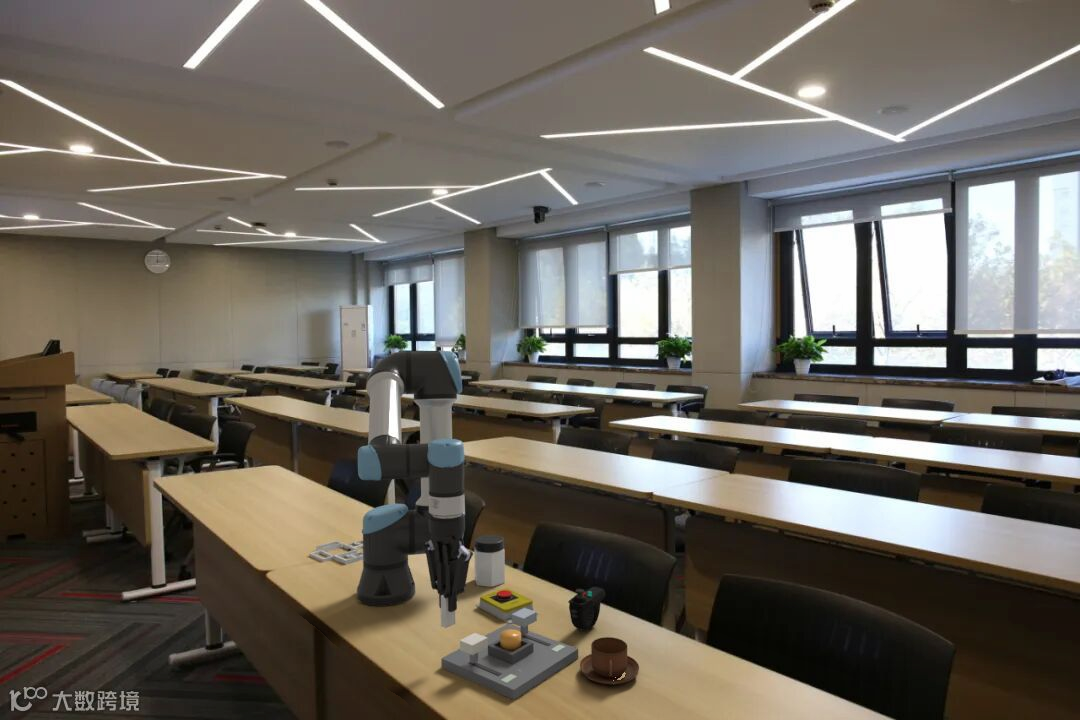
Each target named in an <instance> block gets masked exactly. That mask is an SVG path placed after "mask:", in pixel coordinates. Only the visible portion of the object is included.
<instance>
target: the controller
mask: <svg viewBox="0 0 1080 720" xmlns="http://www.w3.org/2000/svg"><path fill="white" fill-rule="evenodd" d="M575 593H576V594H575V595H574V596H573V597H572V598H570V599H569V600H568V601H567V603H568V604H569V605H568V609H569V615H570V621H571V623H572V626H573V627H574V628H576V629H577V630H580V631H585V632H587V631H590V630H591V629H593V628H594V626H595V625H596V623H597V622H598V619H599V615H600V611H601V603H602V600H603V599H604V598H605V597H606V596H607V593H606V591H605V589H604V588H603V587H599V586H591V587H590V588H588V589H586V590H585V589H583V588H576V589H575Z"/></svg>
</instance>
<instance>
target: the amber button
mask: <svg viewBox="0 0 1080 720" xmlns="http://www.w3.org/2000/svg"><path fill="white" fill-rule="evenodd" d="M500 646H501V648H503V649H506V650H515V649H518V648H520V647H521V632H520V631H518V630H514V629H508V630H504V631H502V632H501V633H500Z"/></svg>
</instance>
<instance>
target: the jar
mask: <svg viewBox="0 0 1080 720" xmlns="http://www.w3.org/2000/svg"><path fill="white" fill-rule="evenodd" d="M504 544H505V538H504V537H503V536H501V535H497V534H484V535H479V536H477V537H475V539H474V547H473V549H474V552H473V554H474V581H475V584H476V586H481V587H489V588H493V587H496V586H499V585H502V584H505V582H506V576H505V575H506V571H505V570H506V569H505V568H506V566H505V564H506V563H505V562H506V559H505V557H506V554H505V552H506V551H505V545H504Z"/></svg>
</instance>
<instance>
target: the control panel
mask: <svg viewBox="0 0 1080 720" xmlns="http://www.w3.org/2000/svg"><path fill="white" fill-rule="evenodd" d="M508 629H514V630H518V631H520V626H519V627H518V626H517V625H516V626H515V625H514V624H509V623H507V624H505V625H503V626H501V627H499V628H497V629H495V630H493V631H491V632H489V633H488V634H486V635H484V636H485V637H487V638H488V647H487V648H485V649H483V650H481V651H479V652H478V662H476V663H472V662H470V654H468V653H466V652H464V651H461V650H460V648H458V649H456V650H455V651H453V652H451V653H449V654H447V655H444V656H443V657H441V668H442V669H444V670H446V671H448V672H451V673H452V674H455V675H457V676H459V677H461V678H464V679H466V680H468V681H470V682H473V683H475V684H477V685H479V686H482V687H484V688H486V689H488V690H490V691H493V692H495V693H497V694H500V695H502V696H504V697H506V698H508V699H511V700H513V701H515V700H517V699H518V698H519V697H521V696H523V695H524V694H526V693H527V692H529V691H530V690H531V689H533V688H535V687H536V686H538V685H539V684H541V683H543V682H544V681H545V680H547V679H549V678H551V677H552V676H553V675H554V674H556V673H558V672H559V671H561V670H562V669H563V668H566V667H567V666H568V665H570V664H571V663H573V662H574V661H576V660H577V659H579V647H578V648H577V647H574V646H571V645H569V644H567V643H564V642H561V641H558V640H555V639H552V638H549V637H546V636H544V635H541V634H538V633H535V632H534V631H529V630H528V634H526V635H522V634H521V647H520V648H518V649H515V650H506V649H503V648H501V646H500V633H501V632H502V631H504V630H508Z"/></svg>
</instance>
